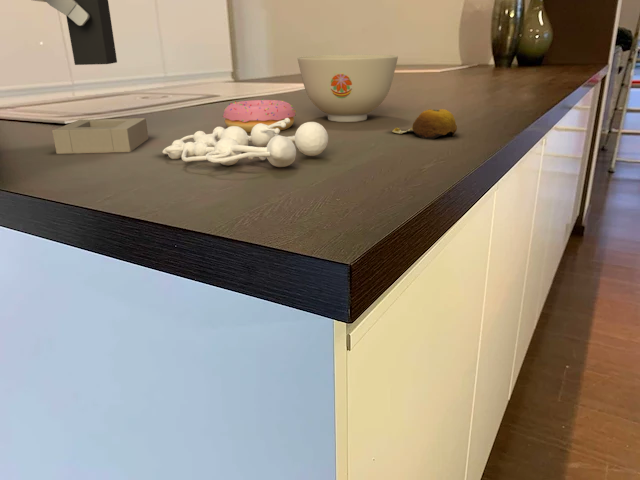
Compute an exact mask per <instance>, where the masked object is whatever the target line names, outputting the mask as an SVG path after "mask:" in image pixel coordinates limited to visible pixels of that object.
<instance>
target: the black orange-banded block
mask: <svg viewBox="0 0 640 480" xmlns="http://www.w3.org/2000/svg"><path fill="white" fill-rule="evenodd" d="M74 1H75V2H76V3H78V4H79V5H82V6H83V7H84V8H85V9H86V10H87V11H88V12H89V13H90V14H91V16H92V18H91V20H90V21H89V22H88V24H87V25H85V26H79V25H77V24H76V23H75V22H74V21H73V20H71V19H70V18H69V17H68V16H66V15H65V18H66V23H67V28H68V33H69V39H70V45H71V52H72V57H73V62H74V63H73V64H74V65H75V66H83V65H84V66H86V65H89V66H90V65H91V66H92V65H111V64H116V63H118V59H117V52H116V46H115V38H114V31H113V25H112V18H111V10H110V5H109V0H74Z"/></svg>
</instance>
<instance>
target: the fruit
mask: <svg viewBox="0 0 640 480" xmlns="http://www.w3.org/2000/svg"><path fill="white" fill-rule="evenodd" d="M457 130H458V126H457V123H456V119H455V116H454V115H453V114H452V112H451V111H450V110H447V109H445V108H440V109H432V108H430V109H426V110H423V111H422V112H421V113H420V114H419V115H418V116H417V117H416V119H415V120H414V121H413V123H412V127H410V128H409V129H407V130H402V129H400V127H395V128H393V130H391V131H392V133H395V134H400V135H401V134H405V133H408V132H410V131H412V132H413V133H414V134H415V135H416V136H417V137H419V138H420V139H423V140H435V139H436V138H438V137H440V136H445V135H452V136H455V134H456V132H457Z"/></svg>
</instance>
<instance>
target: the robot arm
mask: <svg viewBox="0 0 640 480" xmlns="http://www.w3.org/2000/svg"><path fill="white" fill-rule="evenodd" d="M33 1H34V2H41V3H47V4H48V5H49V6H50V7H52V8H53V9H55V10H57V11H58V12H60V13H62V15H65V17H66V16H68V17H69V18H70V19H71V20H73V21H74V22H75V23H76V24H77V25H79V26H85V25H87V24H88V22H89V21H90V20H91V18H92V16H91V14H90V13H89V12H88V11H87V10H86V9H85V8H84V7H83V6H82V5H79V4H78V3H76V2H75V1H74V0H32V2H33Z"/></svg>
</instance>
